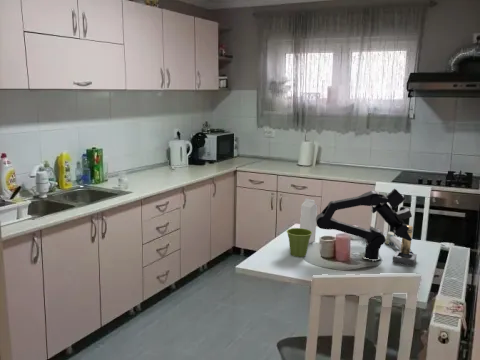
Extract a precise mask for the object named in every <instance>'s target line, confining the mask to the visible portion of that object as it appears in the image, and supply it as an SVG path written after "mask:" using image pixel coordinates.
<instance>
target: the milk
mask: <svg viewBox="0 0 480 360" xmlns="http://www.w3.org/2000/svg"><path fill="white" fill-rule="evenodd" d="M317 215H318V205H317V204H316V200H314V199H310V198H307V197H306V198H304V201H303V202H302V204H301V205H300V217H299V228H303V229H308V230H310V231H312V234H311V236H310V239H309V243H308V245H309V244H312V243H314V242H316V233H317V223H316V217H317Z"/></svg>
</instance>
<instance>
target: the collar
mask: <svg viewBox="0 0 480 360" xmlns="http://www.w3.org/2000/svg"><path fill="white" fill-rule="evenodd" d="M417 255H418V254H416V253H413V254H411V253H410V254H403V253H401V251H400V250H396V251H395V252H394V254H393V255H392V263H393V264H397V265H403V266H408V267H414V266H415V264H416V261H417V257H418V256H417Z"/></svg>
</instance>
